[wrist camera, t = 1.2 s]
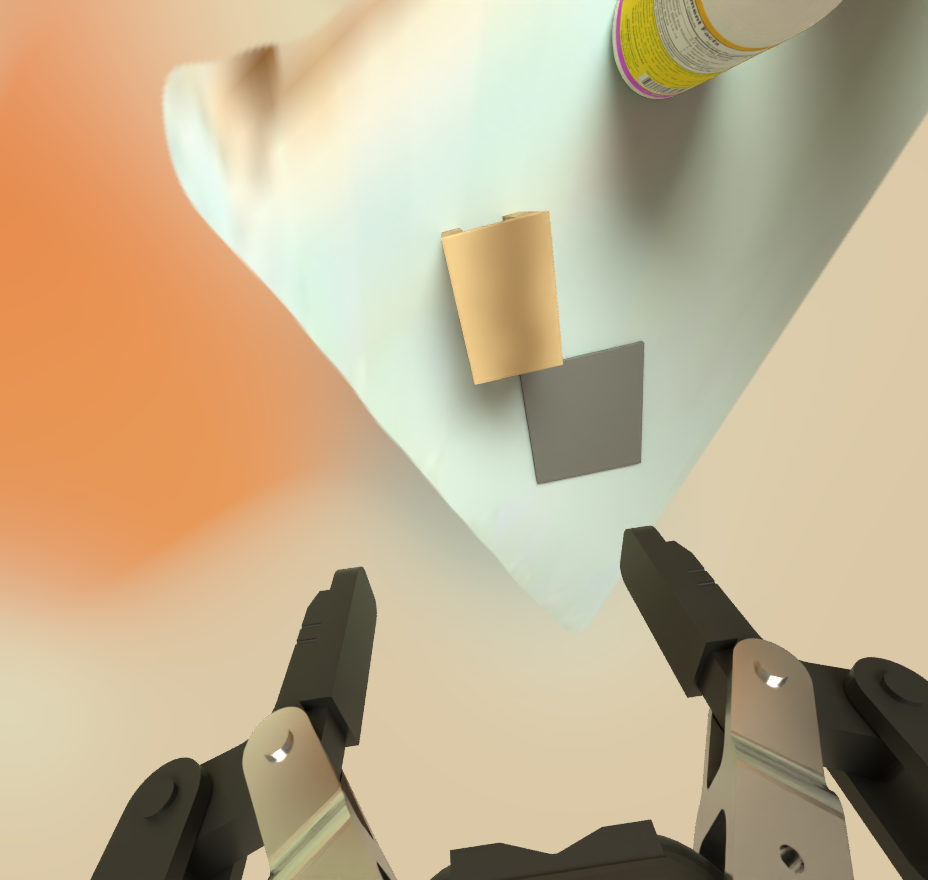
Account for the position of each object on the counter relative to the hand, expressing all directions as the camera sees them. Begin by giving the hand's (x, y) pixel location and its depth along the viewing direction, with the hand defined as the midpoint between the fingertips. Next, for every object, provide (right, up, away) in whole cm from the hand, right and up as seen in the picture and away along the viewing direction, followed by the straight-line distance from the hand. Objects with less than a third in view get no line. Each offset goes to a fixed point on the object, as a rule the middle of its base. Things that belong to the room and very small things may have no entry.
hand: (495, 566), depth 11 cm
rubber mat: (+10, +6, +22) cm, 25 cm away
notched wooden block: (+1, +15, +16) cm, 22 cm away
